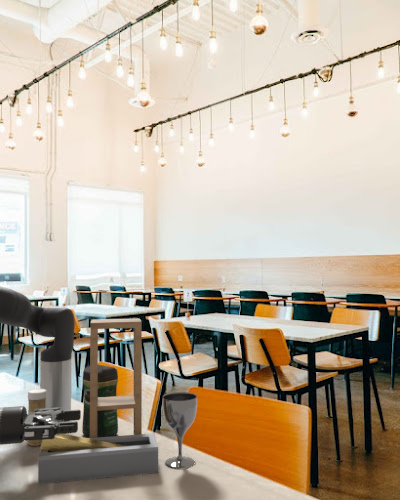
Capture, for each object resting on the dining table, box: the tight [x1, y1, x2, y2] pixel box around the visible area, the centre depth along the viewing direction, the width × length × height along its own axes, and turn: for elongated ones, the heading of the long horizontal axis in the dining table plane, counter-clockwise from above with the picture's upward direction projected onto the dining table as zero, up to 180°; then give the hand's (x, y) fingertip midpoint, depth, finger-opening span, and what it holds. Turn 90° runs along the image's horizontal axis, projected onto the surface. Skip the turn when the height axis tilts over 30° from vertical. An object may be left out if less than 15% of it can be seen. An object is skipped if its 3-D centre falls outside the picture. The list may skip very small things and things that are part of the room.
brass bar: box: [39, 433, 125, 452], centre depth 100 cm, size 3×20×3 cm, turn 101°
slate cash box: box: [37, 432, 159, 485], centre depth 100 cm, size 9×25×6 cm, turn 101°
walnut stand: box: [89, 317, 143, 438], centre depth 110 cm, size 8×12×32 cm, turn 101°
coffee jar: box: [81, 364, 119, 438], centre depth 123 cm, size 10×8×19 cm
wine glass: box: [162, 391, 198, 470], centre depth 104 cm, size 8×8×15 cm
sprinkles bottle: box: [27, 388, 47, 447], centre depth 117 cm, size 5×5×13 cm
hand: (79, 420), depth 100 cm, fingers open, 8 cm apart
